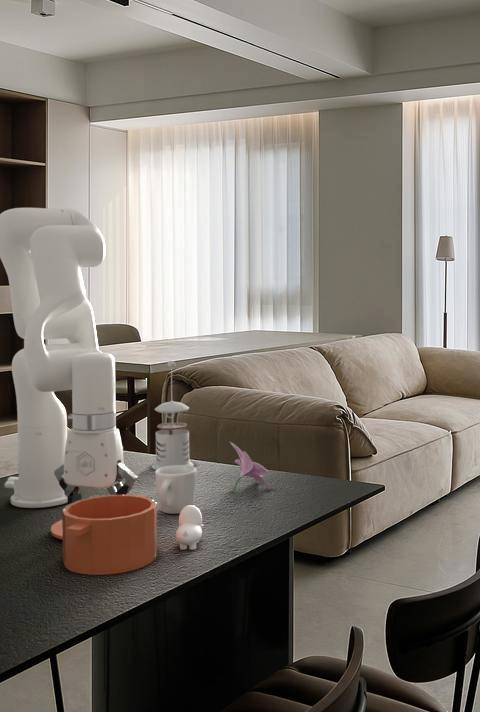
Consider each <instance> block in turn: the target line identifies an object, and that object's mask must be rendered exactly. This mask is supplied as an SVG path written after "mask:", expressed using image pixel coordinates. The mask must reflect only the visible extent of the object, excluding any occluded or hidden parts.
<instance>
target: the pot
mask: <svg viewBox="0 0 480 712" xmlns="http://www.w3.org/2000/svg"><path fill="white" fill-rule="evenodd" d="M157 503H158V502H156V501H155V500H154V499H153V498H151V497H149V495H146V494H126V495H110V494H105V495H102V496H97V497H91V498H89V497H87V498H82V500H78V501H76V502H73V503H71V504H69V505H68V504H67V505H66V506H64V508H62V511H61V513H62V514H61V515H62V516H61V517H62V518H61V520H62V528H63V540H62V562H63V566H64V568H66V570H69V571H70V572H72V573H77V574H82V575H90V576H104V575H106V576H107V575H116V574H123V573H127V572H132V571H136V570H138V569H141V568H143V567H146V566H148V565H150V564H151V563H153V562H154V561H155V560H156V558H157V552H158V512H157V511H158V509H157V507H158V506H157V505H158V504H157Z"/></svg>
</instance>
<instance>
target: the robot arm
mask: <svg viewBox="0 0 480 712" xmlns="http://www.w3.org/2000/svg"><path fill="white" fill-rule="evenodd" d="M105 256H106V243H105V238H104V236H103V234H102V233H101V230H100V229H99V228H98V226H97V225H96V224H95V223H94V222H92V221H91V220H90V219H89V218H88V217H87V216H86V215H84V214H83V213H82V212H80V211H79V210H76V209H72V208H71V209H70V208H47V207H46V208H44V207H14V208H10V209H7V210H4V211H2V212H1V213H0V261H1V263H2V265H3V267H4V269H5V273H6V275H7V279H8V284H9V285H8V286H9V295H10V301H11V309H12V318H13V323H14V328H15V331H16V334H17V336H18V337H20V338H21V339H22V340H23V348H22V349H20V350H18V351H17V352H16V353H15V354H14V356H13V358H12V361H11V374H12V379H13V384H14V389H15V390H14V391H15V397H16V411H17V467H18V468H17V469H18V472H17V473H18V476H9V477H7V480H6V481H5V483H4V488H5V489H10V490H12V489H13V494H12V495H11V496H10V504H11V505H12V506H14V507H17V508H23V509H43V508H50V507H56V506H60V505H64V504H67V505H69V504H71V503H73V502H76V501H78V500H82V499H83V497H82V496H83V495H82V492H79V491H80V490H81V488H89V489H103V490H104V489H106V490H107V492H108V493H109V495H128V494H129V493H130V491H131V490H132V489H133V486H134V485H135V483H136V482H137V480H138V476H137V474H135V473H134V472H133V471H131V470H130V469H129V468H128V467H127V466H126V465H125V463H124V462H125V461H124V451H123V450H124V449H123V450H122V446H123V443H122V438H121V434H120V429H119V428H117V419H116V418H117V417H116V416H117V411H116V408H117V407H116V405H117V404H116V360H115V356H114V355H112V354H111V353H110V352H109V353H108V352H103V351H102V350H100V349H99V348H100V347H99V343H98V335H97V328H96V321H95V316H94V311H93V307H92V305H91V302H90V301H89V300H88V299H87V294H86V289H85V286H84V279H83V275H82V271H81V268H96V267H99V266H100V265H101V264H102V263H103V262H104V259H105ZM60 339H66V340H67V341H68V343H52V344H50V343H49V344H45V341H46V340H60ZM44 340H45V341H44ZM62 391H71V395H72V396H71V397H72V398H71V402H72V405H71V406H72V407H71V408H72V410H71V411H72V412H71V413H69V414H68V415H67V411H66V408H65V406H64V404H63V403H62V402H61V401H60V400H59V399H58V398H57V396H56V394H55V392H62ZM68 422H72V428H69V430H68ZM123 480H124V484H122V482H123Z"/></svg>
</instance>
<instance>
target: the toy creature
mask: <svg viewBox="0 0 480 712" xmlns="http://www.w3.org/2000/svg"><path fill="white" fill-rule="evenodd" d="M178 526H179V527H177V528H176V531H175V539H176V541H177V542H178V543H179V550H182V551H183V550H187V549H189V550H197V544H199V543H200V539H201V537H202V534H203V530H202V528H203V526H205V524H203V515H202V513H201V510H200V509H199V508H198V507H197V506H196V505H188V506H186V507H185V508H183V509H182V511H181V513H180V514H178Z"/></svg>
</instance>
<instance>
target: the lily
mask: <svg viewBox="0 0 480 712" xmlns="http://www.w3.org/2000/svg"><path fill="white" fill-rule="evenodd" d="M229 443H230V445H231V446H232V447H233V449H234V450H235V452H236V453H237V455H238V457H239V458H237V459H235V460H234V463H235V464H237V465H239V466H240V476H239V477H238V478H237V480H236V483H235V484H234V487H233V489H232V492H231V493H235V490H236V488H237V485H238V483H239V482H240V480H241V478H242V477H251V478H253V479H254V481H255V482H256V484H260V482H261V483H262V484H263V485H264V486H265V487H266V488H267V489H268V490H269V491H270V490H271V487H270V486H269V484H268V483H267V482H266V480H265V479H264V478H263V477H265V476H268V475H270V471H269V470H268V469H267V468H266V467H264V466H263V465H261V463H258V462H255V461H253V460H252V459H251V457H250V456H249V454H248V453H247V452H246V451H245V450H242V449H241V448H240V447H238V446H237V445H236V444H235V443H233V442H231V441H229Z"/></svg>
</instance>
